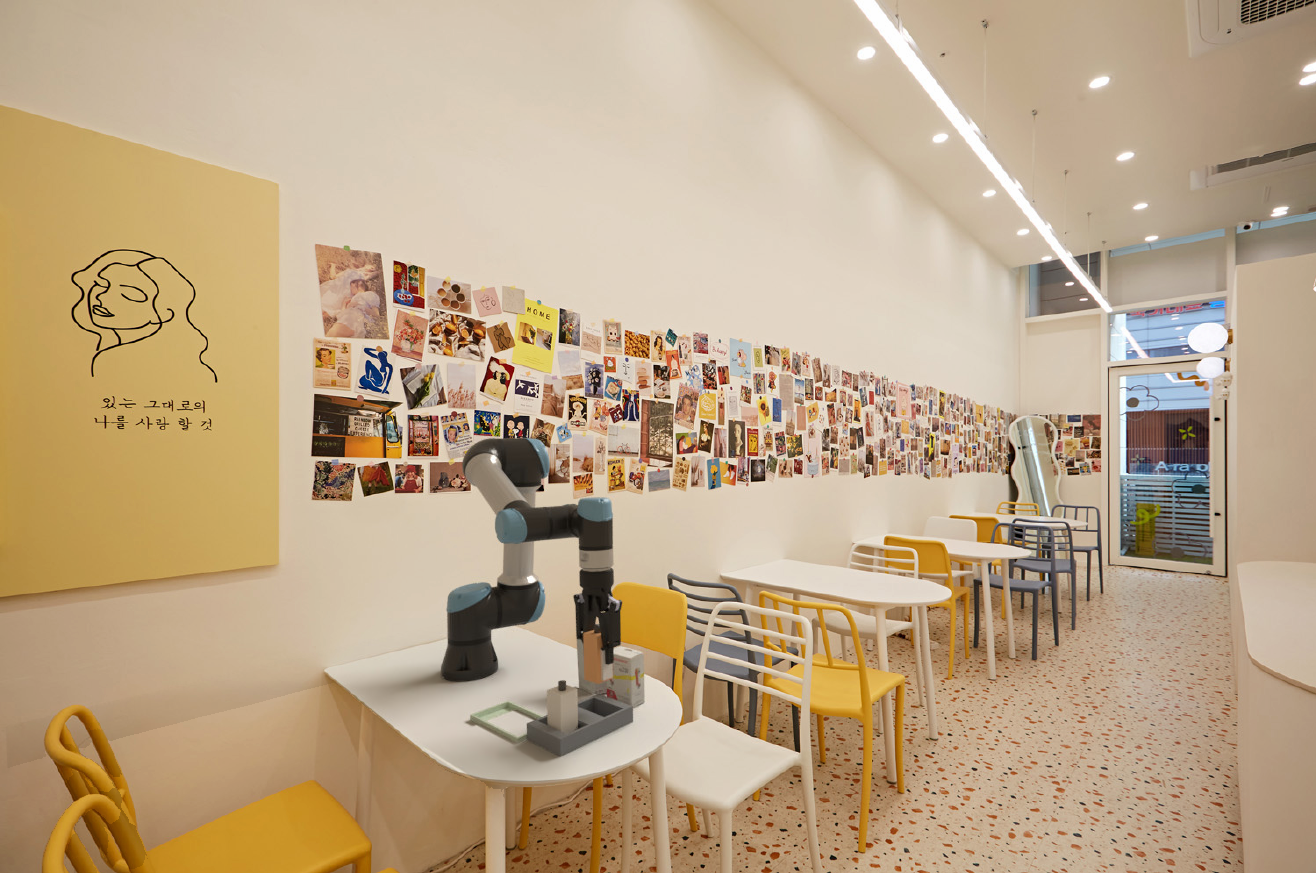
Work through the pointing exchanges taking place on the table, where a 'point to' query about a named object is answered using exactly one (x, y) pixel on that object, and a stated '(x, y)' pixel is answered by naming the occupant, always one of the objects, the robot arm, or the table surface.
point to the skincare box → (583, 684)
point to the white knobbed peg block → (562, 708)
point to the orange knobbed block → (593, 655)
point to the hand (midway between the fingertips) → (598, 675)
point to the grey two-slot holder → (582, 725)
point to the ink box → (627, 677)
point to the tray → (497, 711)
